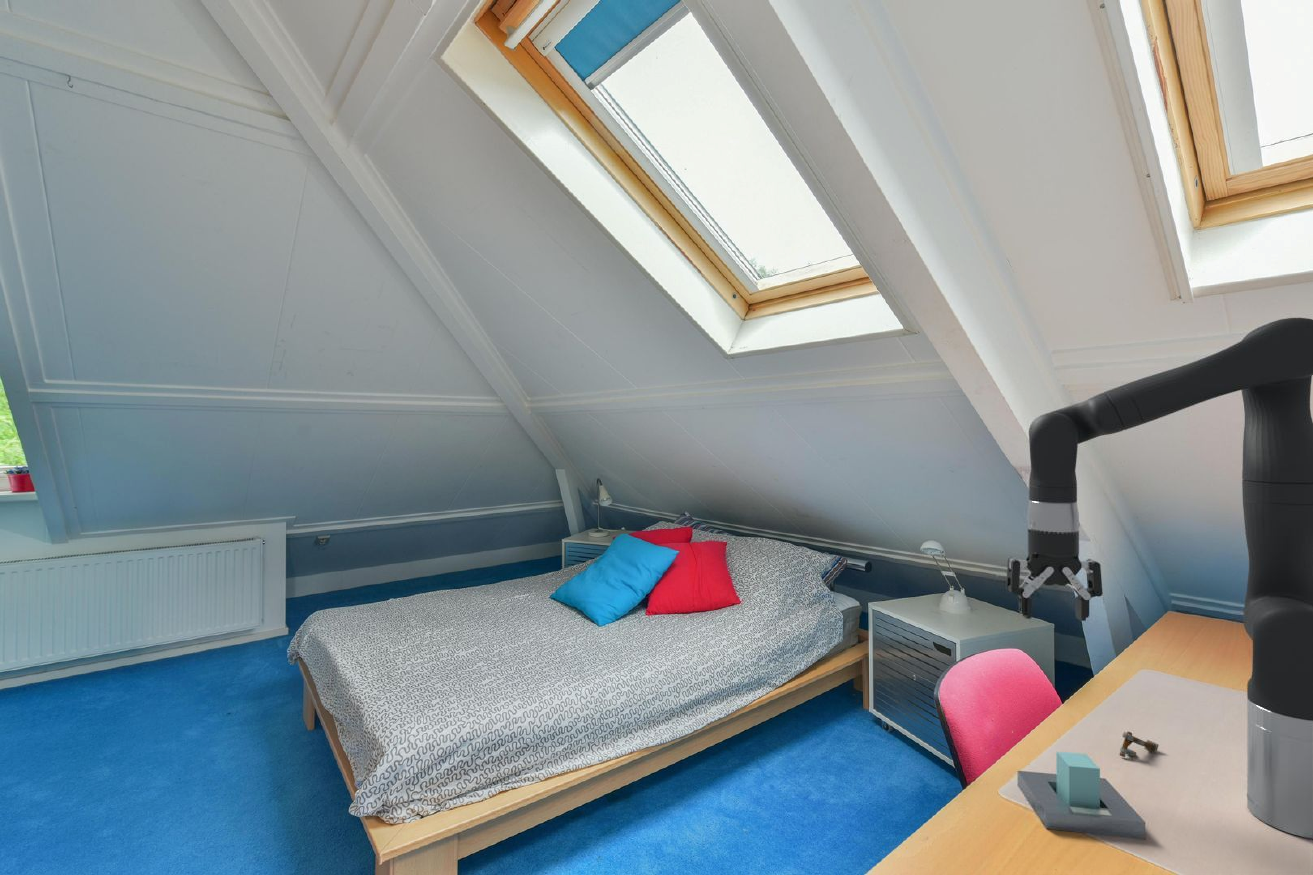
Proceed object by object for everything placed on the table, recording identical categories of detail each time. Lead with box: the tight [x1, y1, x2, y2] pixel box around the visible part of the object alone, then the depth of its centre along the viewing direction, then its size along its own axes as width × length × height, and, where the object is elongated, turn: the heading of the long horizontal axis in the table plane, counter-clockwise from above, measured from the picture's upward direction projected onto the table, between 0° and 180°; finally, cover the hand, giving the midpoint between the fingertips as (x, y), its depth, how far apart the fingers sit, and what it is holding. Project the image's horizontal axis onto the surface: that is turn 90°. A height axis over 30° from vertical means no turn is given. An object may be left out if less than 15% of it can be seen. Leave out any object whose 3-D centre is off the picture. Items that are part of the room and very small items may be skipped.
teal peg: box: [1056, 751, 1101, 808], centre depth 94 cm, size 4×4×8 cm
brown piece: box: [1119, 731, 1159, 758], centre depth 109 cm, size 2×8×4 cm, turn 107°
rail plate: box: [1017, 770, 1146, 840], centre depth 94 cm, size 13×11×3 cm
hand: (1053, 618), depth 106 cm, fingers open, 8 cm apart
